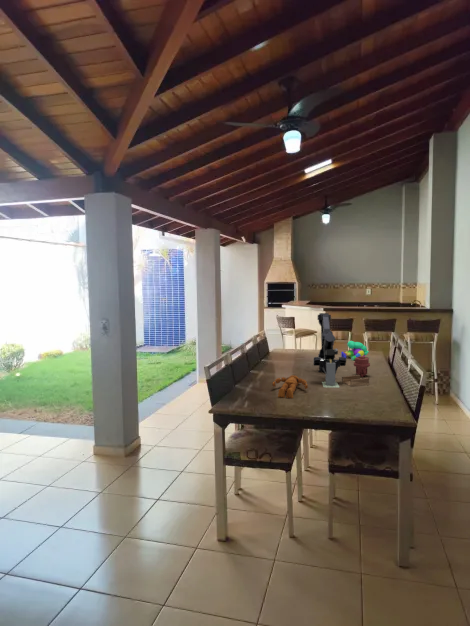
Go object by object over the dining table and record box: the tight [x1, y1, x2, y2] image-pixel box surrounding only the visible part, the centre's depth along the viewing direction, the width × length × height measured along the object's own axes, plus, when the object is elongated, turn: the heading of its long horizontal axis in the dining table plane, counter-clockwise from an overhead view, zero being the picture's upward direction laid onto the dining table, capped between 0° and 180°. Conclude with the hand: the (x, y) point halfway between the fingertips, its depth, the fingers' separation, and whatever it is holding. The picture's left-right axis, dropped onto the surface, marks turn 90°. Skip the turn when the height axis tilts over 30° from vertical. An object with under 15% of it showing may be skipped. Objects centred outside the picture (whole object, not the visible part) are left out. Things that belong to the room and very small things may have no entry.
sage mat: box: [321, 381, 340, 388], centre depth 242 cm, size 12×9×1 cm
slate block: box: [325, 359, 336, 386], centre depth 241 cm, size 5×5×15 cm
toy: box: [272, 375, 309, 399], centre depth 232 cm, size 20×7×30 cm
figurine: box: [340, 340, 369, 361], centre depth 317 cm, size 18×14×20 cm
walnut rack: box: [341, 374, 370, 388], centre depth 244 cm, size 9×12×4 cm
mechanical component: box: [353, 356, 371, 378], centre depth 262 cm, size 12×10×10 cm
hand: (330, 373), depth 240 cm, fingers closed on slate block, 5 cm apart
